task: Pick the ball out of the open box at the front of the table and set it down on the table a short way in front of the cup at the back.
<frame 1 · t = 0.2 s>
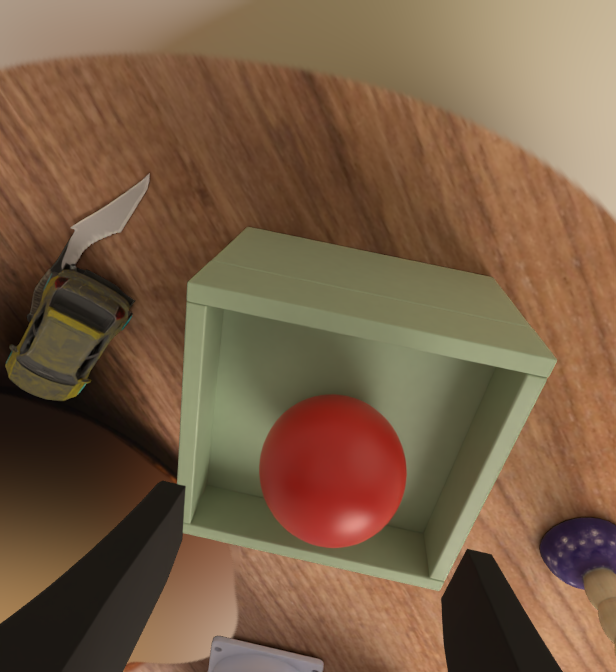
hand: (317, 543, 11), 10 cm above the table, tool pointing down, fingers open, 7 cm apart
race car: (71, 332, 21), on the table, touching knife
knife: (120, 314, 21), on the table, touching race car
open box: (343, 357, 20), on the table
ball: (332, 467, 14), point 7 cm above the table, touching open box
toy lamp: (584, 538, 24), on the table
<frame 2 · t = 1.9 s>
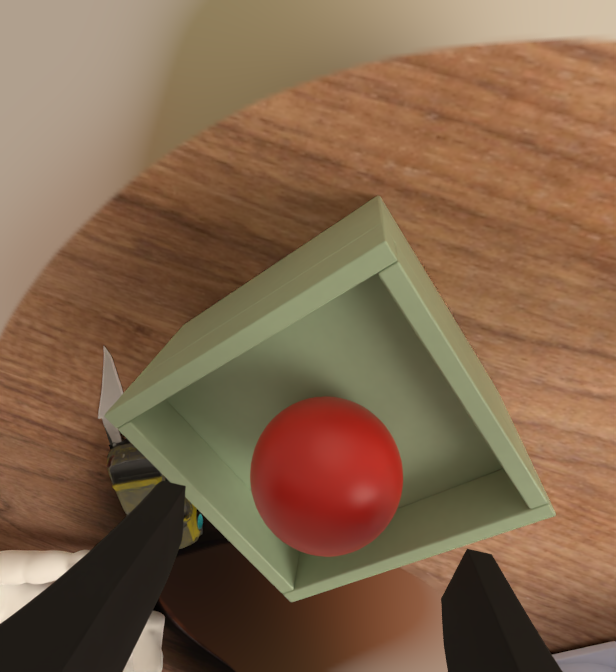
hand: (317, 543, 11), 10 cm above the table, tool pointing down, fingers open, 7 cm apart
race car: (161, 487, 25), on the table, touching knife
toy creature: (150, 653, 30), point 2 cm above the table
knife: (175, 451, 24), on the table, touching race car
open box: (339, 358, 20), on the table
ball: (326, 472, 14), point 7 cm above the table, touching open box
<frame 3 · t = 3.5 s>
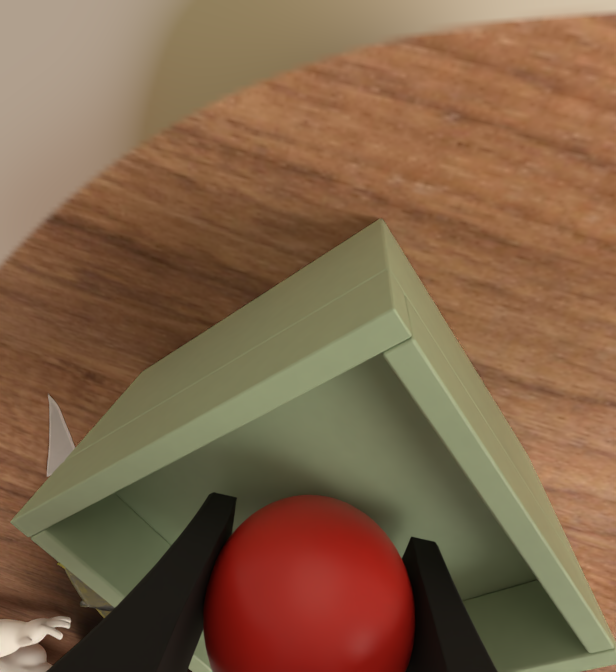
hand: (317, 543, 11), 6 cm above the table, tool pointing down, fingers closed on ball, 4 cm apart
race car: (126, 551, 21), on the table
knife: (141, 512, 20), on the table
open box: (332, 413, 16), on the table
ball: (309, 604, 10), point 7 cm above the table, touching open box, gripper
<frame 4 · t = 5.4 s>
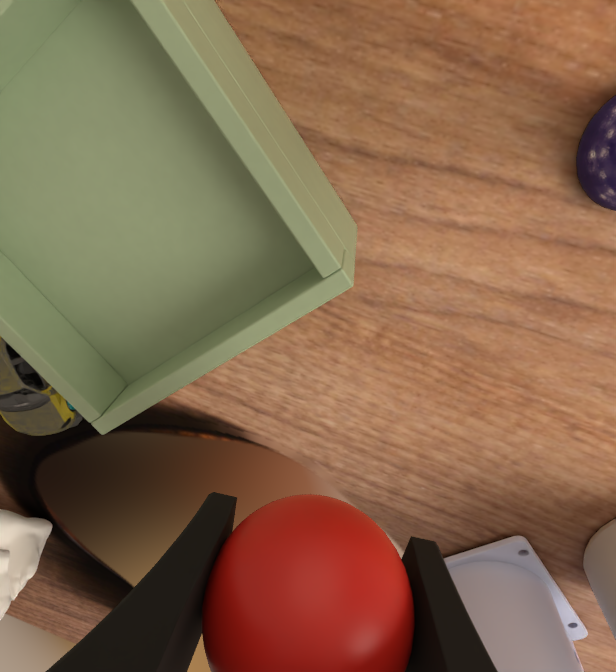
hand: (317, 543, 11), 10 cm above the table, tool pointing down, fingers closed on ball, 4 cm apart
race car: (28, 364, 23), on the table
toy creature: (36, 564, 28), point 2 cm above the table
open box: (183, 190, 18), on the table
ball: (308, 604, 10), point 12 cm above the table, touching gripper
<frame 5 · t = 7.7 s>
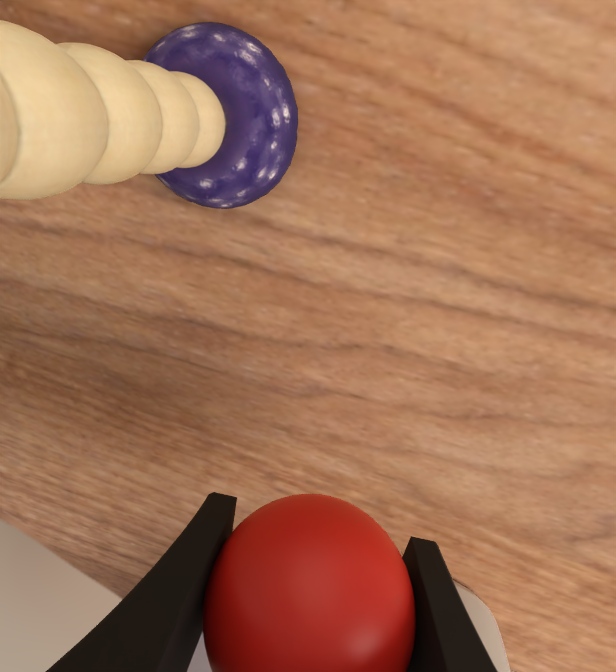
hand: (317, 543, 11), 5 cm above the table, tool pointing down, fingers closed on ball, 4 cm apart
cup: (440, 623, 20), on the table
ball: (309, 604, 10), point 6 cm above the table, touching gripper
toy lamp: (214, 109, 12), on the table
when the fingers open (1 cm above the table, at t = 9.3 s): ball stays where it is, point 2 cm above the table.
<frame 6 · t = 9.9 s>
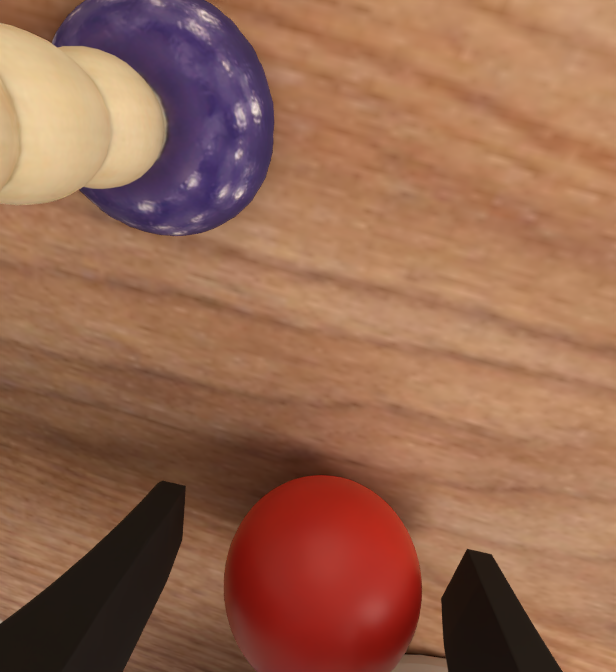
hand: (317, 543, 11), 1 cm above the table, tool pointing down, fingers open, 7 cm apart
ball: (322, 576, 11), point 2 cm above the table, tilted 7°
toy lamp: (163, 104, 9), on the table
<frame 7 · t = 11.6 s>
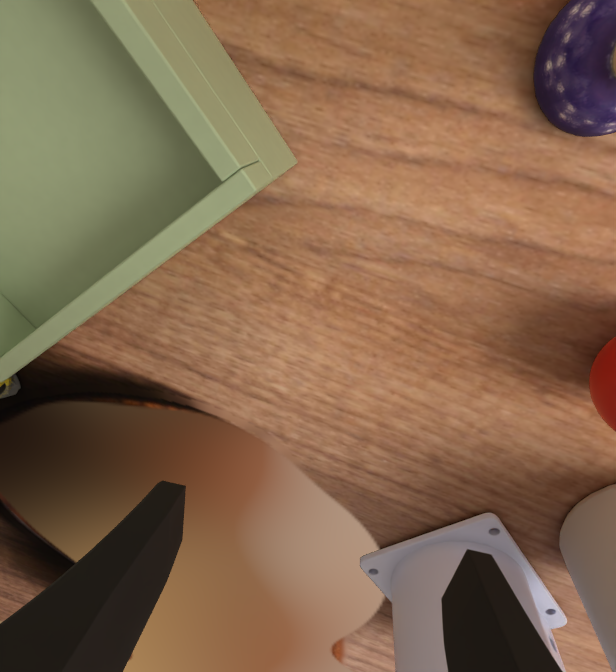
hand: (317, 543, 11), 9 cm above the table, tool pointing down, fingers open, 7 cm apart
open box: (107, 123, 16), on the table
toy lamp: (600, 49, 14), on the table
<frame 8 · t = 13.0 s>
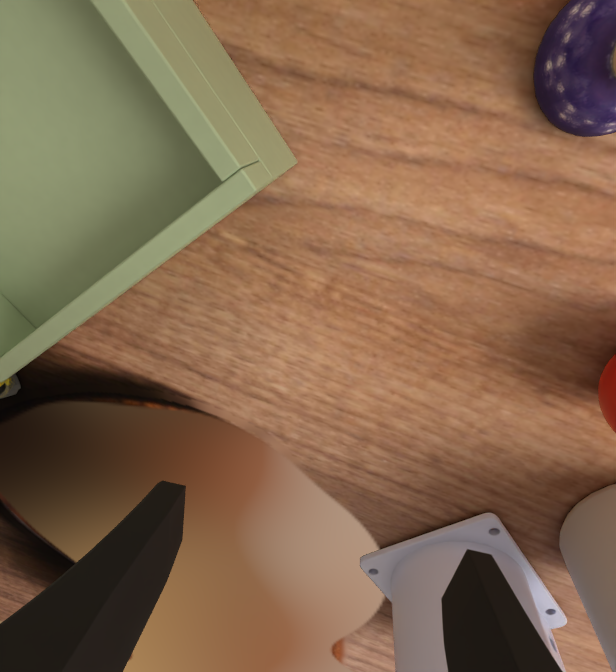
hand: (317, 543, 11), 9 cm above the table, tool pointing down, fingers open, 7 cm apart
open box: (107, 123, 16), on the table
toy lamp: (600, 49, 14), on the table
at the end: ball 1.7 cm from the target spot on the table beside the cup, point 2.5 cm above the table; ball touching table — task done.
